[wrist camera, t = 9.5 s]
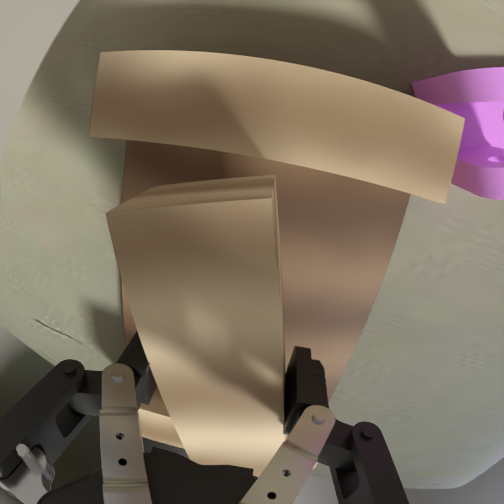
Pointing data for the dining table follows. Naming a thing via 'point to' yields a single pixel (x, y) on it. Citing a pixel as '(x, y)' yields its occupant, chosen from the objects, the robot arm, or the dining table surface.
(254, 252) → the oak plank
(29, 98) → the dining table surface
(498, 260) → the dining table surface
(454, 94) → the bracket
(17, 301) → the dining table surface
